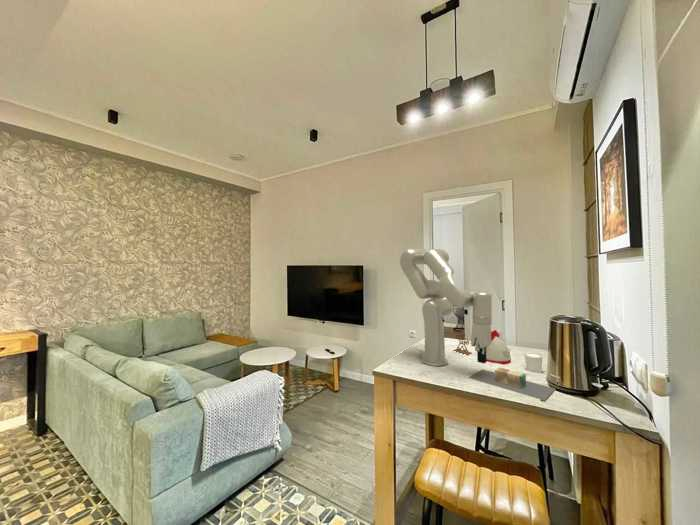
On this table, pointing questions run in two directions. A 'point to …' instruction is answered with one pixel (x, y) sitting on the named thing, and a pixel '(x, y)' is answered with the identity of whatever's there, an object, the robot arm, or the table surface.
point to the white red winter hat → (497, 350)
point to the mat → (529, 389)
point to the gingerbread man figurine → (463, 344)
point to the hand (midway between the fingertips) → (481, 362)
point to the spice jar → (510, 377)
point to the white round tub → (533, 362)
